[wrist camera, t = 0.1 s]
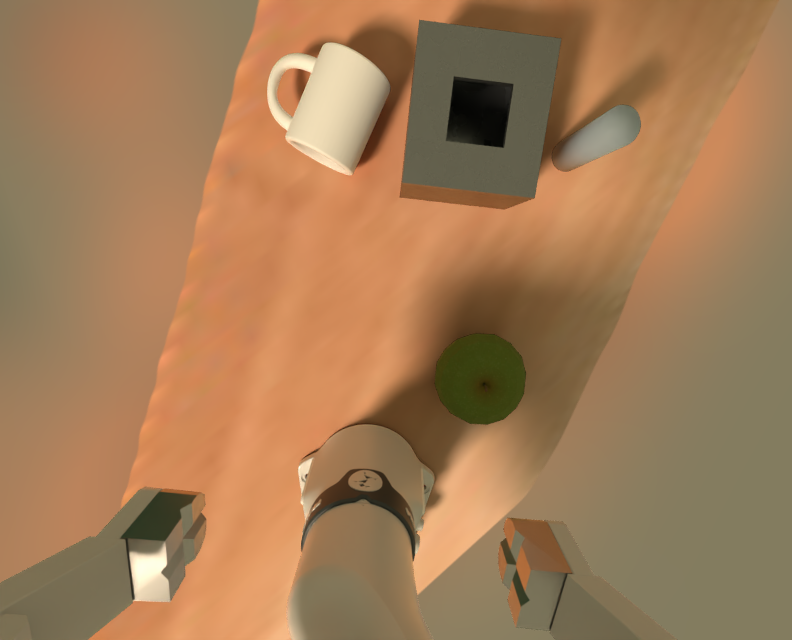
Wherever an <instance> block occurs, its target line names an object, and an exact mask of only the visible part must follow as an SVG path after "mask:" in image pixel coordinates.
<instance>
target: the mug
mask: <svg viewBox="0 0 792 640" xmlns="http://www.w3.org/2000/svg"><path fill="white" fill-rule="evenodd" d="M291 68H297V69H302V70H305V71H308V72H310V73H311V75H310V77H309V80H308V82H307V85H306V87H305V90H304V92H303V94H302V97H301V99H300V102H299V104H298V107H297V109H296V112H295V114H294V116H293V117H292V116H290V115H289V114H288V113H287V112H286V111H285V110H284V109H283V108H282V107H281V105H280V104H279V102H278V99H277V90H278V86H279V82H280V80H281V77H282V75H283V74H284V72H285V71H287V70H288V69H291ZM389 93H390V83H389V81H388V79H387V78H386V76H385V75H384V74H383V72H382V71H381V70H380V69H379V68H378V67H377V66H376V65H375V64H374V63H372V62H371V61H370V60H369V59H367V58H366V57H365V56H363V55H362V54H360V53H358V52H357V51H355V50H353V49H351V48H349V47H347V46H344V45H342V44H339V43H334V42H329V43H325V44H324V45H323V46H322V48H321V50H320V53H319V55H318V58H316V57H313V56H310V55H307V54H303V53H291V54H288V55H286V56H284V57H282V58H281V59H280V60H278V61H277V63H276V64H275V65H274V67H273V69H272V71H271V73H270V76H269V80H268V88H267V96H268V103H269V107H270V110H271V113H272V115H273V117H274V118H275V120H276V121H277V122H278V123H279V124H280V125H281V126H282V127H283V128H284V129H286V130H287V133H286V136H285V138H286V140H287V141H288V142H289V143H290V144H291V145H292V146H293V147H295V148H296V149H298V150H299V151H301V152H302V153H304V154H305V155H307V156H309V157H310V158H312V159H314V160H316V161H318V162H319V163H321V164H323V165H325V166H327V167H329V168H331V169H333V170H335V171H338V172H340V173H343V174H346V175H353V173H354V171H355V169H356V167H357V164H358V162H359V160H360V158H361V155H362V153H363V151H364V149H365V146H366V144H367V142H368V140H369V137H370V135H371V133H372V131H373V129H374V126H375V124H376V122H377V120H378V117H379V115H380V113H381V111H382V108H383V106H384V104H385V102H386V99H387V97H388V95H389Z"/></svg>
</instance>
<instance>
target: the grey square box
mask: <svg viewBox="0 0 792 640" xmlns="http://www.w3.org/2000/svg"><path fill="white" fill-rule="evenodd" d="M560 44H561V38H554V37H546V36H538V35H531V34H523V33H515V32H508V31H500V30H492V29H485V28H477V27H469V26H462V25H454V24H446V23H439V22H431V21H423V20H419V28H418V36H417V44H416V52H415V61H414V69H413V78H412V87H411V97H410V106H409V116H408V125H407V134H406V144H405V153H404V163H403V172H402V181H401V191H400V197H401V198H410V199H418V200H427V201H436V202H444V203H453V204H462V205H470V206H479V207H488V208H496V209H507V208H510V207H512V206H515V205H518V204H520V203H523V202H526V201H528V200H531V199H534V198H535V193H536V187H537V181H538V175H539V169H540V163H541V157H542V151H543V145H544V139H545V133H546V128H547V122H548V116H549V110H550V104H551V98H552V92H553V86H554V80H555V74H556V68H557V62H558V56H559V50H560Z"/></svg>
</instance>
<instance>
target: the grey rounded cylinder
mask: <svg viewBox="0 0 792 640" xmlns="http://www.w3.org/2000/svg"><path fill="white" fill-rule="evenodd" d="M640 127H641V121H640V117H639V114H638V112H637V111H636V110H635V109H634V108H633V107H631V106H628V105H618V106H615V107H613V108H612V109H610V110H609V111H607V112H606V113H604V114H603V115H601V116H600V117H598V118H596V119H595V120H593V121H592V122H590V123H589V124H587V125H586V126H584V127H583V128H581V129H579V130H578V131H576V132H575V133H573V134H572V135H570V136H569V137H567V138H566V139H564V140H563V141H561V142H559V143H558V144H557V145H556V146H555V148H554V149H553V152H552V162H553V164H554V166H555V167H556V168H557V169H558V170H560V171H564V172H567V171H571V170H573V169H575V168H578V167H580V166H582V165H584V164H586V163H589V162H591V161H593V160H595V159H597V158H600V157H602V156H604V155H606V154H609V153H611V152H613V151H615V150H617V149H620V148H622V147H624V146H626V145H628V144H630V143H631V142H633V141H634V140H635V138H636V137H637V135H638V134H639V131H640Z"/></svg>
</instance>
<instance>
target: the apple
mask: <svg viewBox="0 0 792 640" xmlns="http://www.w3.org/2000/svg"><path fill="white" fill-rule="evenodd" d="M525 378H526V371H525V368H524V364H523V360H522V357H521V355H520V354H519V353H518V352H517V351H516V349H515V348H514V347H513V346H512V344H511V343H509V342H507V341H506V340H504V339H502V338H500V337H498V336H497V335H495V334H471V335H468V336H465V337H462V338H459V339H457V340H456V341H454V342H453V343H452V344H451V345H449V346H448V347H447V348H446V349H445V350H444V351H443V353H442V355H441V356H440V358H439V360H438V361H437V365H436V375H435V387H436V390H437V392H438V395H439V398H440V400H441V402H442V403H443V404H444V405H445V407H446V408H447V409H448V410H449V412H450V413H451V414H453V415H455V416H457V417H459V418H461V419H462V420H464V421H466V422H468V423H470V424H490V423H494V422H497V421H500V420H503V419H504V418H506V417H507V416H508V415H509V414H510V413H511V412H512V411H513V410H515V409H516V407H517V406H518V404H519V402H520V400H521V398H522V396H523V394H524V387H525Z"/></svg>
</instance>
